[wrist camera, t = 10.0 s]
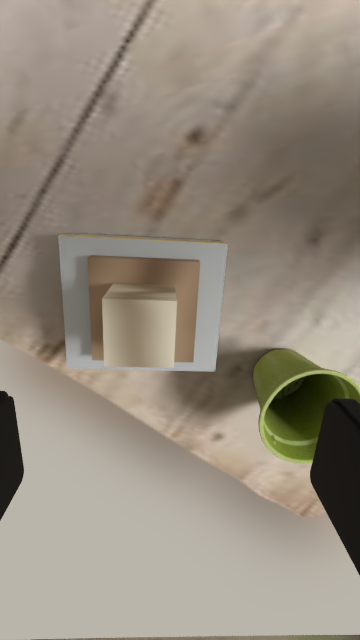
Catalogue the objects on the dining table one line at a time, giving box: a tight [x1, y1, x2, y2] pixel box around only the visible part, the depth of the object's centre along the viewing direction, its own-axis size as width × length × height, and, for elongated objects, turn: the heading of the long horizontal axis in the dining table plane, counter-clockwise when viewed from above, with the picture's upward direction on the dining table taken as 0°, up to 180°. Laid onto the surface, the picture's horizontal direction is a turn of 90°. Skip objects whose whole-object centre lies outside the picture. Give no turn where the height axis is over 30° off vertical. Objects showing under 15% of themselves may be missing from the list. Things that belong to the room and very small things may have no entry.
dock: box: [58, 233, 228, 372], centre depth 30 cm, size 14×12×4 cm
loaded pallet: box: [87, 255, 200, 368], centre depth 25 cm, size 9×9×6 cm
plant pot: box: [253, 349, 360, 464], centre depth 31 cm, size 9×9×9 cm
